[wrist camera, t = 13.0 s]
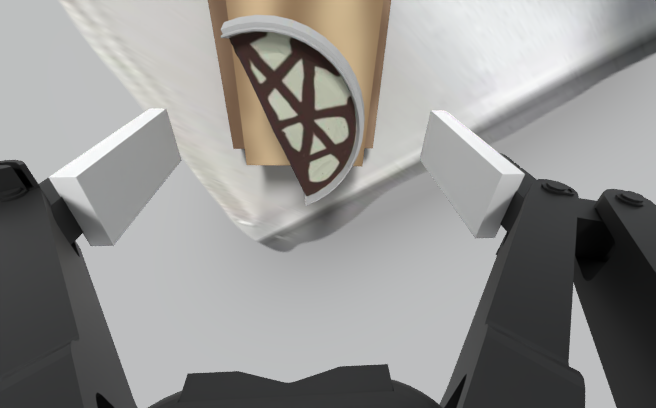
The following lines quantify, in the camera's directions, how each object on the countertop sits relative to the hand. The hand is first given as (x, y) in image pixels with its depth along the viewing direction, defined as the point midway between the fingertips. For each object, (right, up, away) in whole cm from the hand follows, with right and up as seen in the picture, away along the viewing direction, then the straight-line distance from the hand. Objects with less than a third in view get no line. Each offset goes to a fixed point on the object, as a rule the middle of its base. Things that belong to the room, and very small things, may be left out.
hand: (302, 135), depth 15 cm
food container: (0, +7, +11) cm, 13 cm away
